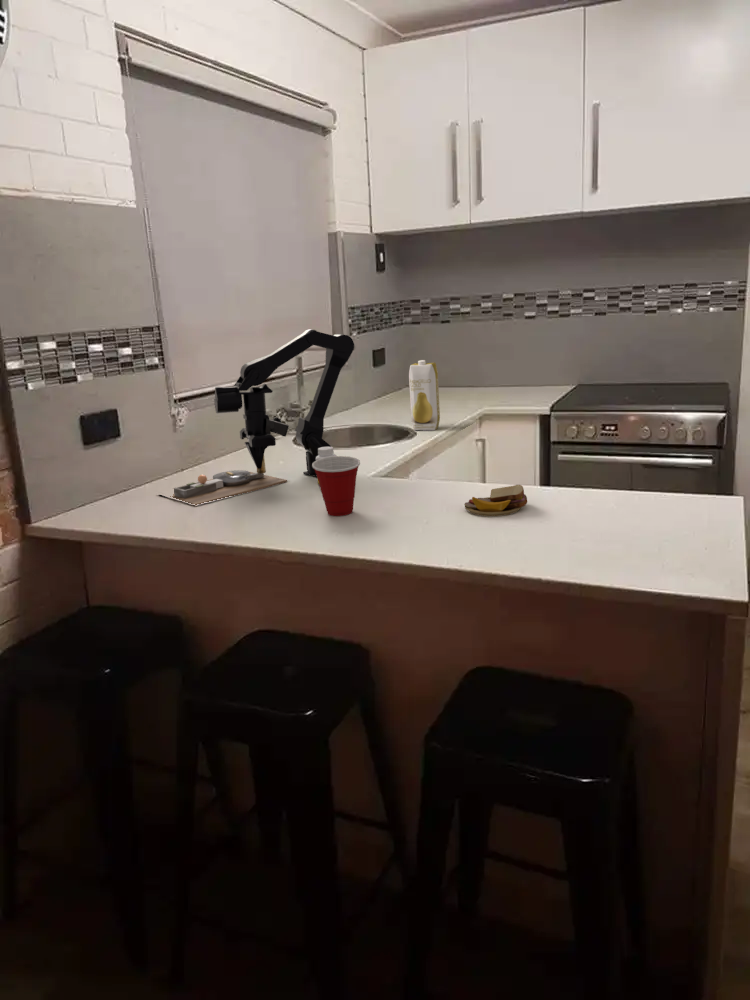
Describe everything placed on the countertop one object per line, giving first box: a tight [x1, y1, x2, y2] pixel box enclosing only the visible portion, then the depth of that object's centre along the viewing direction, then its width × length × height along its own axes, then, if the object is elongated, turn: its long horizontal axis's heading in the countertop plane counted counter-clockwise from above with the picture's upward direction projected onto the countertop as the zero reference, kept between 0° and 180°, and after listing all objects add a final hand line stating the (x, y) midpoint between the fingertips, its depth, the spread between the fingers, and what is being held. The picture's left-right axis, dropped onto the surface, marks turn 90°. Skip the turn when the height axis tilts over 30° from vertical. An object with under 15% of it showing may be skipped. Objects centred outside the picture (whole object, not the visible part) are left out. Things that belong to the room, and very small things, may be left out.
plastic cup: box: [312, 455, 361, 517], centre depth 169 cm, size 11×11×12 cm
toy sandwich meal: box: [464, 484, 528, 517], centre depth 165 cm, size 12×14×5 cm
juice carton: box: [408, 359, 441, 431], centre depth 262 cm, size 9×8×24 cm
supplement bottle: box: [316, 446, 337, 488], centre depth 194 cm, size 6×6×10 cm
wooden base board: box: [170, 471, 288, 505], centre depth 201 cm, size 20×28×3 cm
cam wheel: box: [212, 455, 267, 486], centre depth 205 cm, size 12×12×7 cm
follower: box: [190, 474, 223, 489], centre depth 197 cm, size 3×8×4 cm, turn 133°
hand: (259, 468), depth 204 cm, fingers closed
